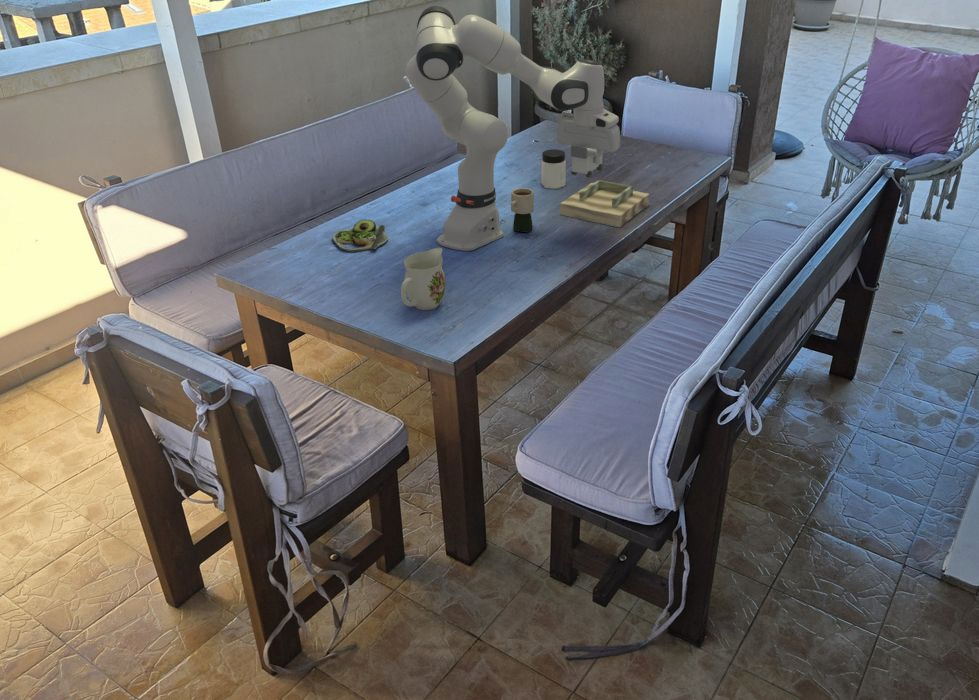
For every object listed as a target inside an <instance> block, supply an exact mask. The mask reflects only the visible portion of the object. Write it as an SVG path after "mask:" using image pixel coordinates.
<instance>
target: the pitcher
mask: <svg viewBox="0 0 979 700" xmlns="http://www.w3.org/2000/svg"><path fill="white" fill-rule="evenodd" d="M442 252H443V248H442V247H435V248H431V249H428V250H425V251H420V252H416V253H413V254H411V255H409V256H407V257H406V258H405V259H404V260H403V265H404V269H405V274H404V280H403V281H402V283H401V286H400V297H401V300H402V303H403V304H404V305H405V306H407V307H415V309H418V310H422V311H430V310H434V309H436V308H438V307H439V305H440V304H441V303H442V300H443V299H444V295H445V291H446V277H445V272H444V270H443V268H442V267H443V256H442ZM407 298H408V299H407Z"/></svg>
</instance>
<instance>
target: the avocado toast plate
mask: <svg viewBox="0 0 979 700" xmlns="http://www.w3.org/2000/svg"><path fill="white" fill-rule="evenodd" d="M385 227H386V226H385V225H383V224H380V225H377V224H376V223H375V221H373V220H372V219H367V218H366V219H362V220H359V221H356V223H354V226H353V227H352V228H346V229H340V230H338V231H336V232H335V233H333V234H332V236H331V237H332V241H333V243H335V244H336V246H337V247H339V248H340V249H341V250H344V251H346V252H354V253H358V252H364V251H368V250H376V249H377V248H378V247H380V246H382V245H384V244H386V242H388V240H389V236H388V235H387V233H385V232H384V231H385ZM345 245H356V246H357V247H347V246H345Z"/></svg>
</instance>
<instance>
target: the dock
mask: <svg viewBox="0 0 979 700" xmlns="http://www.w3.org/2000/svg"><path fill="white" fill-rule="evenodd" d="M649 205H650V193H647V192H642V191H637V190H634V186H633V185H627V184H623V183H617V182H613V181H612V182H611V181H606V180H603V179H602V180H601V179H598V180H596V181H594V182H591V183H589V184H588V185H586V186H585V187H583V188H581V189H580V190H578V191H576V192H575V193H574V194H572V195H571V196H569V197H568V198H566V199H565V200H563V201H562V202H560V203H559V215H560V216H565V217H570V218H573V219H579V220H584V221H587V222H593V223H598V224H602V225H606V226H612V227H616V228H621V227H622V226H623V225H625V224H626V223H627V222H629V221H630V220H631V219H633V218H634V217H635V216H636V215H638V214H639V213H640V212H642V211H643V210H644V209H646V208H647V207H648V206H649Z"/></svg>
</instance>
